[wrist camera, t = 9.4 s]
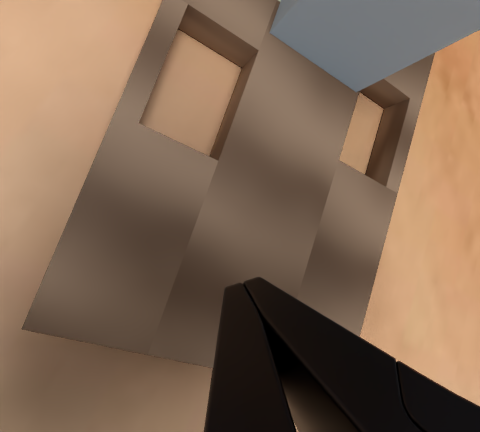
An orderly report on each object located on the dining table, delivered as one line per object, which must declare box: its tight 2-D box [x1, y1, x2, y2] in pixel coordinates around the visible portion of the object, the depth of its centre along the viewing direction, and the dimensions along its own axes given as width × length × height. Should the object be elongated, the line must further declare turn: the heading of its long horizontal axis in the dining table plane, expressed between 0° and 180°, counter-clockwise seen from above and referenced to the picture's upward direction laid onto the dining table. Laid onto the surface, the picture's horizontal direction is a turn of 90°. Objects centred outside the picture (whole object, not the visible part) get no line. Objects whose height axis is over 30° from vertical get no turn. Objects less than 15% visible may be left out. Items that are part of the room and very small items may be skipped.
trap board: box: [22, 0, 435, 368], centre depth 15 cm, size 24×16×7 cm, turn 159°
